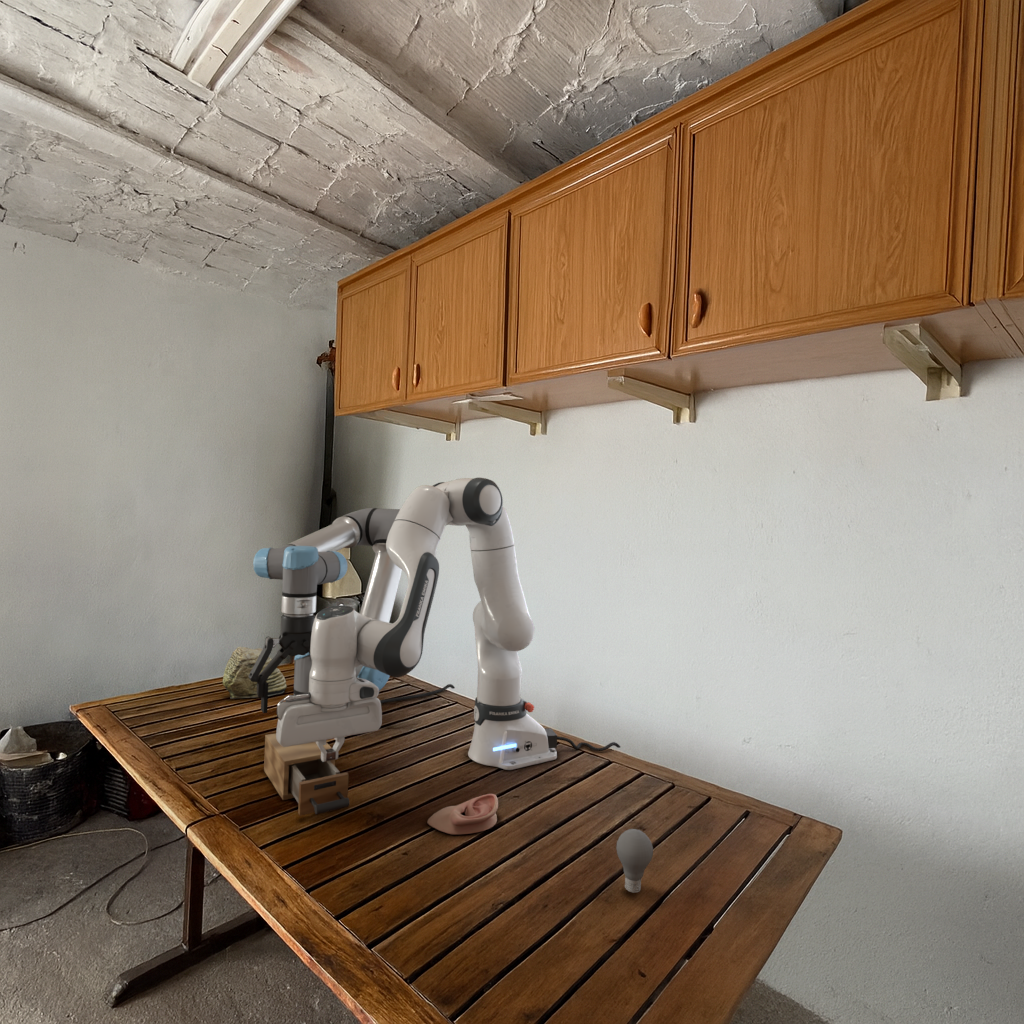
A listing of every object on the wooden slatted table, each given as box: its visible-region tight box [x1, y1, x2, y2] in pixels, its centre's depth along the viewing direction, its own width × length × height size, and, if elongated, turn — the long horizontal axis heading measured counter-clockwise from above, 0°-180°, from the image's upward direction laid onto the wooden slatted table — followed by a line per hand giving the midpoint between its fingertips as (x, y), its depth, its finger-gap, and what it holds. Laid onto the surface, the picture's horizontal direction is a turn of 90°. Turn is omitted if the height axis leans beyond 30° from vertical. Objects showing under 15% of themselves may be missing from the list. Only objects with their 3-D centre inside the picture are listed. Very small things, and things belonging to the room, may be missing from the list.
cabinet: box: [263, 732, 336, 801], centre depth 141 cm, size 16×11×8 cm, turn 34°
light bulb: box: [615, 828, 654, 894], centre depth 106 cm, size 6×6×10 cm
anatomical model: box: [427, 793, 499, 836], centre depth 126 cm, size 13×4×12 cm
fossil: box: [222, 646, 288, 699], centre depth 198 cm, size 9×18×15 cm, turn 132°
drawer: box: [288, 759, 351, 817], centre depth 130 cm, size 20×10×6 cm, turn 34°
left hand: (295, 706), depth 144 cm, fingers open, 13 cm apart
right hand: (329, 759), depth 125 cm, fingers closed
